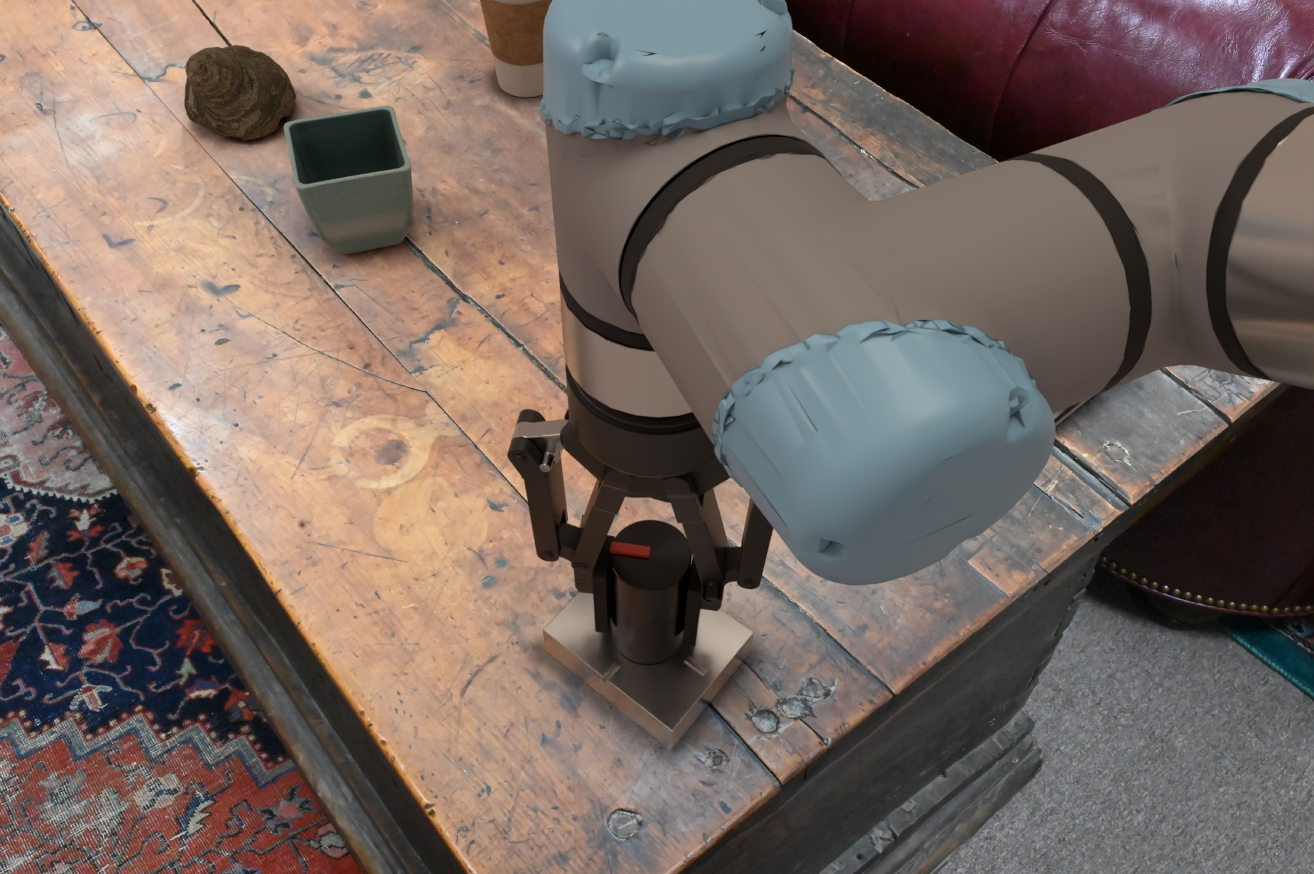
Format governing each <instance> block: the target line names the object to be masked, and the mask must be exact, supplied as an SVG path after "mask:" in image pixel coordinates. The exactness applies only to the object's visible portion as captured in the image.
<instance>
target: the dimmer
mask: <svg viewBox="0 0 1314 874" xmlns="http://www.w3.org/2000/svg"><path fill="white" fill-rule="evenodd" d="M609 557H610V588H611V618H612V636H613V640H614V643H615V645H616V647H617V648H618V650H619V651H620V652H621V653H622V654H623V655H624V656H626V657H627V658H629V659H630V660H633V661H635V662H638V663H643V664H654V663H659V662H662V661H664V660H667V659H668V658H670V657H671V656H673V655H674V654H675V653H676V652H677V651H678V649H679V648H680V646H681V645H682V642H683V634H684V623H685V612H686V602H687V591H688V584H689V577H690V570H691V564H692V557H693V556H692V553H691V550H690V547H689V544H688V541H687V538H686V535H685V533H683V532H682V531H681V530H680V529H679V528H677V527H676V526H674V525H673V524H671V523H668V522H666V521H663V520H658V519H644V520H643V519H642V520H638V521H635V522H632V523H630V524H628V525H627V526H625V527H624V528H622V529H621V530H620V531H618V533H617V534H616V535H615V538H614V540H613V541H612V542H611V547H610V553H609Z"/></svg>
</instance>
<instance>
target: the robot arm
mask: <svg viewBox="0 0 1314 874" xmlns="http://www.w3.org/2000/svg"><path fill="white" fill-rule="evenodd" d="M787 4H788V3H787V2H786V0H552V2H551V4H550V6H549V9H548V12H547V14H546V17H545V21H544V29H543V95H542V98H541V100H540V101H539V103H540V109H539V118H540V120H541V122H543V123H544V125H545V136H546V146H547V158H548V167H549V168H548V170H549V182H550V190H551V191H550V192H551V202H552V214H553V226H554V236H555V237H554V238H555V248H556V249H555V250H556V258H557V268H558V282H559V299H560V314H561V315H560V316H561V317H560V318H561V333H562V349H563V353H564V361H565V362H564V363H565V364H564V365H565V366H564V370H565V381H566V382H565V383H566V394H567V406H568V408H567V410H566V412H565V413H564V417H563V418H561V419H552V420H546V418H545V417H544V416H543V414H542V413H541V412H539V411H537V410H536V409H531V408H526V409H522V410H521V411H520V412H519V413H518V418H517V420H516V423H515V426H514V430H513V434H512V437H511V440H510V444H509V448H508V450H507V455H506V456H507V459H508V461H509V462H510V463H511V464H512V466H513V467H514V468H515V470H516V471H517V473H518V474H519V475H520V476H521V478H522V479H523V484H524V489H525V494H526V501H527V505H528V512H529V518H530V523H531V529H532V535H533V541H534V547H535V552H536V556H537V557H538V558H539V559H540V560H542V561H544V562H549V563H554V562H557V561H559V560H560V558H561V559H565V560H567V561H569V562H570V566H571V568H572V569H573V577H574V578H573V579H574V587H575V589H576V590H577V591H578V593H579V592H582V593H589V594H593V600H594V617H595V632H601V633H608V631H609V626H610V621H611V588H610V557H609V553H610V547H611V542H612V541H613V540H614V538H615V537H616V535H611V534H610V535H609V531H610V530H611V527H612V524H613V522H614V519H615V518H616V516H618V514H619V512H620V510H621V507H622V506H623V502H624V500H625V498H629V499H630V498H631V499H652V500H656V501H660V502H663V503H667V504H670V505H671V508H672V512H673V515H674V517H675V520H676V523H677V524H681V525H682V529H683V531H684V536H685V537H686V538H687V541H688V544H689V547H690V550H691V553H692V561H691V570H690V577H689V584H688V591H687V602H686V612H685V623H684V634H683V645H689V646H695V645H696V638H697V631H698V624H699V616H700V609H704V610H711V611H718V610H719V609H722V605H723V600H724V592H725V587H726V586H727V584H729V583H736V584H737V586H738V587H740V588H742V589H745V590H757V589H758V588H759V587H760V586H761V582H762V577H763V574H764V569H765V565H766V561H767V556H768V554H769V553H768V552H769V549H770V544H771V541H772V537H773V532H774V531H775V532H776V534H777V535H778V536H779V537H780V539H781V540H782V541H783V543H784V545H786V547H787V548H788V550H789V551H790V552H791V553H792V555H793V556H794V557H795V559H796V560H797V561H798V562H799V563H800V564H801V565H802V566H803V567H805V568H806V569H807V570H808V571H809V572H810V573H812V574H814V575H815V576H816V577H819V578H821V579H823V580H826V581H829V582H832V583H836V584H841V585H847V586H869V585H877V584H878V585H879V584H884V583H887V582H891V581H894V580H898V579H901V578H906V577H908V576H910V575H913V574H915V573H918V572H919V571H922V570H924V569H926V568H928V567H930V566H931V567H932V566H933V565H934V564H936V563H938V562H940V561H942V560H944V559H946V558H947V557H948V556H949V555H950V554H951V553H952V551H954V550H955V549H956V548H957V547H958V546H960V545H961V544H962V543H964V542H966V541H967V540H969V539H973V538H975V537H978V536H981V535H982V534H984V532H986V531H987V530H989V529H990V528H992V527H993V526H994V525H995V524H996V523H997V522H999V521H1000V520H1001V519H1002V518H1003V517H1005V515H1007V513H1009V512H1010V511H1011V510H1012V509H1013V508H1014V507H1015V506H1016V504H1018V503H1019V502H1020V501H1021V500H1022V499H1023V497H1024V496H1025V495H1026V494H1027V493H1028V492H1029V490H1030V489H1031V488H1032V486H1033V485H1034V483H1035V482H1036V480H1037V479H1038V477H1040V475H1041V473H1042V472H1043V469H1044V468H1045V467H1046V465H1047V463H1048V461H1049V460H1050V458H1051V455H1052V452H1053V448H1054V444H1055V439H1056V430H1057V429H1056V427H1055V422H1054V415H1053V413H1056V412H1058V411H1061V410H1063V409H1065V408H1068V407H1070V406H1072V405H1075V404H1077V403H1080V402H1082V401H1084V400H1087V399H1089V398H1090V399H1091V398H1092V397H1095V396H1096V395H1097V396H1098V395H1100V394H1102V393H1104V392H1107V391H1110V390H1112V389H1114V388H1117V387H1119V386H1122V385H1125V384H1127V383H1129V382H1132V381H1134V380H1136V379H1139V378H1141V377H1144V376H1146V375H1149V374H1152V373H1154V372H1157V371H1158V370H1161V369H1164V368H1169V367H1178V366H1195V367H1200V368H1204V369H1209V370H1213V371H1218V372H1221V373H1226V374H1230V375H1235V376H1239V377H1246V378H1251V379H1252V378H1253V379H1258V380H1263V381H1268V382H1269V381H1270V382H1272V383H1273V382H1274V383H1278V384H1283V385H1287V386H1288V385H1289V386H1294V387H1299V388H1304V389H1308V390H1313V391H1314V81H1312V80H1309V79H1304V78H1291V77H1290V78H1289V77H1287V78H1286V77H1281V78H1271V79H1270V78H1269V79H1262V80H1258V81H1254V82H1251V83H1247V84H1243V85H1233V86H1225V87H1220V88H1216V89H1215V88H1214V89H1209V90H1201V91H1197V92H1192V93H1189V94H1185V95H1183V96H1180V97H1177V98H1175V99H1173V100H1172V101H1170V102H1168V103H1167V104H1165V105H1164V106H1161V107H1158V108H1156V109H1153V110H1152V111H1150V112H1147V113H1144V114H1141V115H1138V116H1135V117H1132V118H1128V119H1127V120H1124V121H1123V120H1122V121H1120V122H1118V123H1115V124H1111V125H1109V126H1105V127H1103V128H1099V129H1097V130H1094V131H1091V132H1088V133H1085V134H1082V135H1079V136H1076V137H1073V138H1070V139H1068V140H1064V141H1062V142H1061V141H1060V142H1058V143H1055V144H1052V145H1049V146H1045V147H1044V148H1040V149H1037V150H1034V151H1031V152H1029V153H1025V154H1022V155H1018V156H1015V157H1012V158H1009V159H1005V160H1002V161H999V162H997V163H993V164H990V165H987V166H985V167H984V166H983V167H981V168H978V169H975V170H971V171H968V172H966V173H962V174H959V175H955V176H953V177H950V178H946V179H944V180H940V181H937V182H934V183H931V184H928V185H925V186H922V187H918V188H916V189H915V188H914V189H912V190H909V191H905V192H903V193H900V194H897V195H894V196H891V197H887V198H885V199H881V200H869V198H867V197H866V196H865V195H864V194H863V193H861V192H860V191H859V190H858V189H857V188H856V187H855V186H854V185H852V184H851V183H850V182H849V181H848V180H847V179H846V178H844V176H843V174H842V173H841V172H840V170H838V168H836V167H835V166H834V165H833V163H831V162H830V161H829V160H828V158H827V157H826V156H825V155H824V153H823V152H822V151H821V150H820V149H819V148H818V147H817V146H816V144H814V142H812V140H811V139H810V138H809V137H808V136H807V135H806V134H805V133H804V132H803V131H802V130H801V129H800V128H799V127H798V125H796V124H795V122H794V121H793V120H792V119H791V115H790V113H789V110H788V106H787V101H788V95H789V94H790V93H789V92H790V90H791V88H792V86H793V84H794V83H795V80H794V77H795V71H796V69H795V68H794V66H793V21H792V16H791V14H790V12H789V11H788V10H789V9H788V5H787ZM1090 399H1089V400H1090ZM564 450H565V452H566V453H568V455H569V456H571V457H572V458H573V459H574V460H575V461H576V462H577V463H578V464H580V465H581V466H582V467H583V468H584V469H585V470H586V471H588V472H589V474H591V475H592V476H593V477H594V478H595V479H596V480H595V483H594V485H593V489H592V492H591V494H590V498H589V499H588V502H587V505H586V508H585V511H584V513H583V514H581V519H580V523H579V526H576V525H574V524H571V523H568V522H569V514H568V504H567V498H566V496H567V495H566V489H565V481H564V471H563V462H562V454H563V451H564ZM730 479H731V480H733V481H734V482H735V483H736V484H737V485H738V486H739V487H740V488H742V489H743V490H744V492H746V494H747V495H748V496H749V502H748V507H747V512H746V516H745V521H744V527H743V532H742V537H741V542H740V546H730V544H729V539H728V537H727V533H726V529H725V525H724V522H723V518H722V514H721V511H720V507H719V503H718V500H717V497H716V492H715V488H716V487H718V486H719V485H721V484H723V483H724V482H727V481H728V480H730Z"/></svg>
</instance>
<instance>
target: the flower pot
mask: <svg viewBox="0 0 1314 874" xmlns="http://www.w3.org/2000/svg"><path fill="white" fill-rule="evenodd" d="M283 132H284V136H285V140H286V145H287V150H288V155H289V162H290V167H291V174H292V179H293V185H294V188H295V190H296V192H297V195H298V197H299V199H300V201H301V204H302V206H303V208H304V210H305V213H306V214H307V217H308V219H309V221H310V223H311V225H312V228H313V229H314V230H315V232H316V233H317V235H318V237H320V239H321V240H322V241H323V242H324V243H325V244H326V245H327V246H329V247H330V248H331V249H333V250H334V251H336V252H337V253H339V254H342V255H350V254H356V253H360V252H366V251H370V250H376V249H382V248H387V247H391V246H396V245H400V244H401V243H402V242H403V240H404V239H405V238H406V236H407V234H408V233H409V231H410V229H411V226H412V222H413V218H414V196H413V195H414V192H413V178H412V177H413V175H412V163H411V160H410V158H409V155H408V152H407V149H406V145H405V143H404V140H403V136H402V133H401V130H400V126H399V121H398V118H397V115H396V111H395V109H394V108H393V106H391V105H379V106H373V107H368V108H362V109H357V110H350V111H345V112H338V113H331V114H326V115H318V116H313V117H307V118H300V119H295V120H291V121H287V122H285V123H284V125H283Z"/></svg>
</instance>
